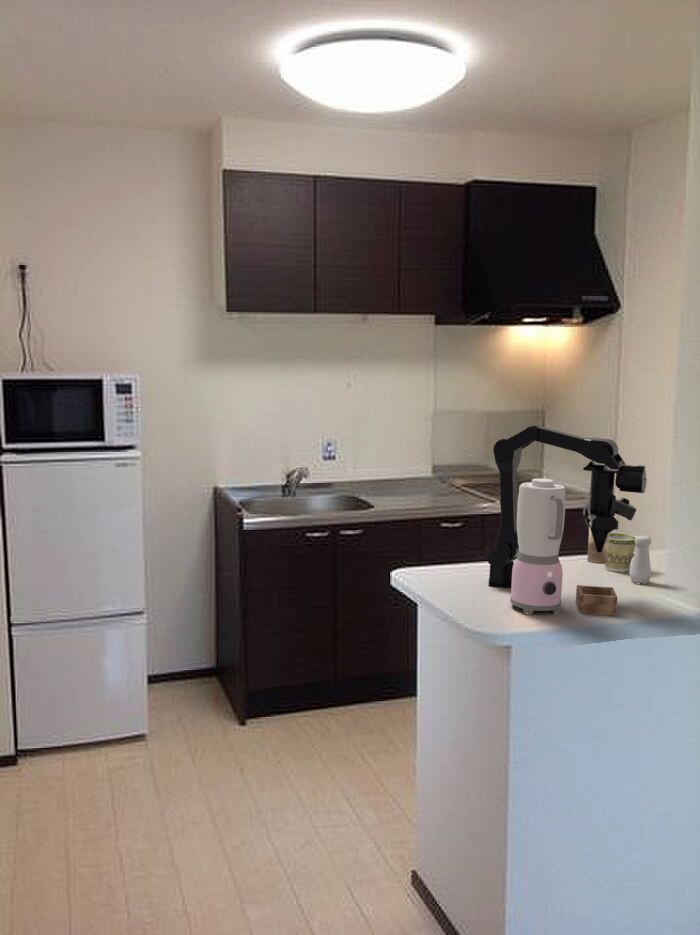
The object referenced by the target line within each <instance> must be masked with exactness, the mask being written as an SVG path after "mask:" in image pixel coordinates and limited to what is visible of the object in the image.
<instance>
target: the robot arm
mask: <svg viewBox="0 0 700 935" xmlns="http://www.w3.org/2000/svg"><path fill="white" fill-rule="evenodd" d="M534 442H538V443H541V444H546V445H549V446H553V447H557V448H560V449H564V450H567V451H571V452H575V453H577V454H579V455H582V456H583V457H584V458H586V459H589V460H590V461H589V462H588V464H586V466H584V467H583V468H582V469H583V471H586V472H587V471H589V472H591V473H590V490H589V491H588V496H589V501H588V502H589V503H587V504H585V506H583V511H582V513H583V516H584V520H585V523H586V526H587V529H588V530H589V527H590V530H591V533H592V536H593V540H594V543H595V546H596V550H597V552H602V550H603V547H604V544H605V541H606V538H607V535H608V533H610V532H612V531H615V530H619V521H618V519H617V518H616V517H615V516H616V515H618V516H620V517H623V518H625V519H626V520H628V521H633V519H634V516H635V515H636V512H637V508H636V507H635V506H633V505H632V504H630V499H628V498H626V497H622V498H620V499H617V496H616V495H615V494H614V493H615V492H614V491H615V487H616V488H617V489H618V490H619V491H620V492H624V493H625V492H626V493H635V494H645V492H646V488H647V482H648V481H647V479H648V478H647V473H646V465H630V464H629V465H628V464H626V462H625V461H624V459H623V457H622V456H621V455H620V453H619V447H618V445H617V443H616V441H615V440H612V439H610V438H602V437H582V436H579V435H575V434H572V433H567V432H565V431H561V430H557V429H552V428H549V427H545V426H542V425H541V424H532V425H529V426H527V427H526V428H525V429H523V430H522V431H520V432H518V433H516V434H514V435H513V436H509V437H505V438H502V439H499V440H497V441H496V442H495V444H493V448H492V451H493V455H494V456H493V457H494V461H495V464H496V467H497V470H498V472H499V494H500V496H499V498H500V499H499V500H500V502H499V503H500V528H499V530H498V534H497V537H496V543H495V544H496V545H495V549H494V550H492V551H490V553H489V554H487V555H486V559H487V562H488V564H489V575H488V577H489V578H488V586H489V587H501V588H511V587H512V569H513V565H514V562H515V560H516V558H517V556H518V553H519V544H518V535H517V507H518V476H517V475H518V469H519V466H520V462H521V459H522V451H523V450H524V449H525V448H527V447H529V446H530V445H531V444H533V443H534ZM587 516H588V517H587Z"/></svg>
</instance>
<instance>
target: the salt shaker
mask: <svg viewBox="0 0 700 935" xmlns="http://www.w3.org/2000/svg"><path fill="white" fill-rule="evenodd" d="M635 536H636V537H635V544H636V546H635V549H634V553H633V554H634V556H633V558H632V560H631V564H630V568H629V571H628V572H629V573H628V574H629V576H630V581H631V582H632V583H633V582H635V583H634V584H636V583H642V584H641V585H646V584H645V583H647V584H648V583H649V581H651V578H652V568H651V559H650V550H649V546H651V544H652V539H651V537H650V536H647V535H642V534H641V535H635Z"/></svg>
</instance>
